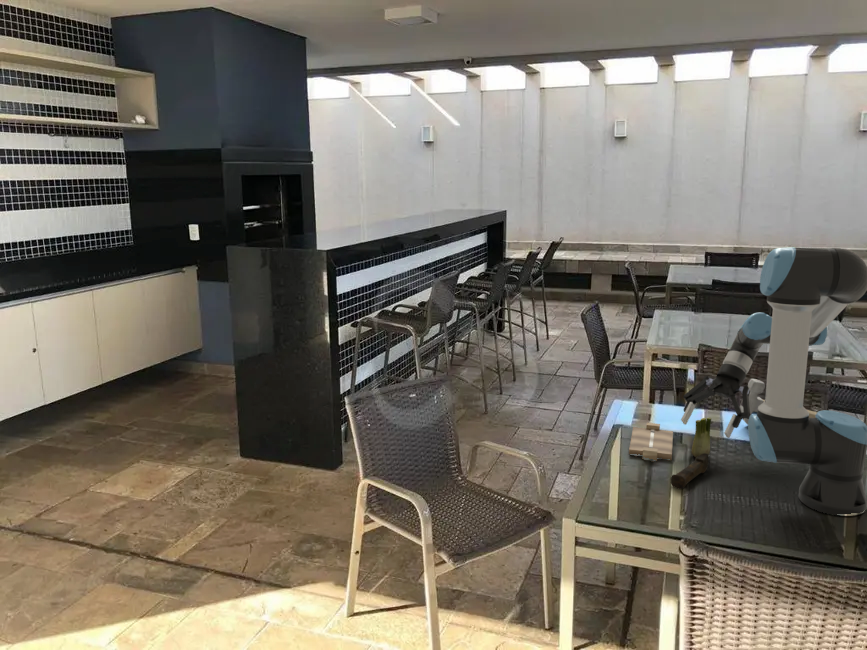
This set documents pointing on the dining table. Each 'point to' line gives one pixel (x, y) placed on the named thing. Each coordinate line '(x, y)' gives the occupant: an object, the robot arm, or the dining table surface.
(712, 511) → the dining table surface
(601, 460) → the dining table surface
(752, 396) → the hammer
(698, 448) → the fennel bulb
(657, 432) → the tan wooden board
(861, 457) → the robot arm
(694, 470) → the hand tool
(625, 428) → the dining table surface
